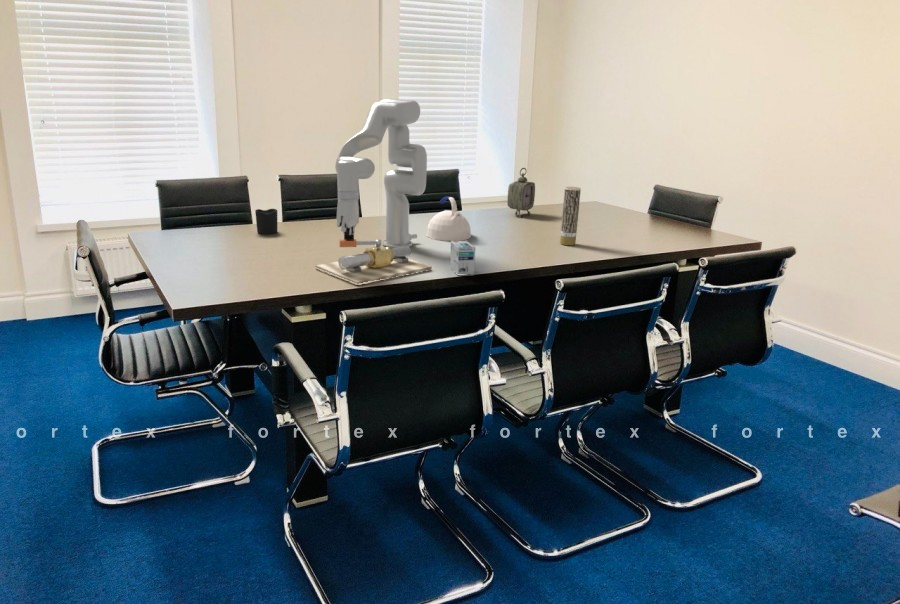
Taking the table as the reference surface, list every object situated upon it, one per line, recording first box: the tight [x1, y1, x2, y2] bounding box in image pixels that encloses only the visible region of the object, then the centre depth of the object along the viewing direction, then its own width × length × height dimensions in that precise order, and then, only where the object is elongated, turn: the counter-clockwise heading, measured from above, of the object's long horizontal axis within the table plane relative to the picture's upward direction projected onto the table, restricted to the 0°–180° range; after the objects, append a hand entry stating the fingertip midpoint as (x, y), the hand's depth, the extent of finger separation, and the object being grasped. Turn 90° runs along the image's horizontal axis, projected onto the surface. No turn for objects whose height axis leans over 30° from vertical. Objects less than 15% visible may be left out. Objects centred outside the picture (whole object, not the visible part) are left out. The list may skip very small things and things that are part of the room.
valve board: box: [315, 258, 433, 284], centre depth 255 cm, size 34×26×2 cm
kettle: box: [426, 195, 472, 242], centre depth 310 cm, size 20×21×18 cm
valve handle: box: [338, 238, 382, 248], centre depth 251 cm, size 3×15×2 cm, turn 103°
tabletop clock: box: [506, 167, 536, 218], centre depth 360 cm, size 14×9×25 cm, turn 147°
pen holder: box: [254, 208, 278, 235], centre depth 305 cm, size 9×9×10 cm
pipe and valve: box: [338, 245, 412, 273], centre depth 253 cm, size 30×6×8 cm, turn 133°
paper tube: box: [559, 186, 582, 247], centre depth 301 cm, size 7×7×25 cm
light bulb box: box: [449, 240, 476, 276], centre depth 256 cm, size 11×7×11 cm, turn 17°
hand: (349, 244), depth 253 cm, fingers closed
